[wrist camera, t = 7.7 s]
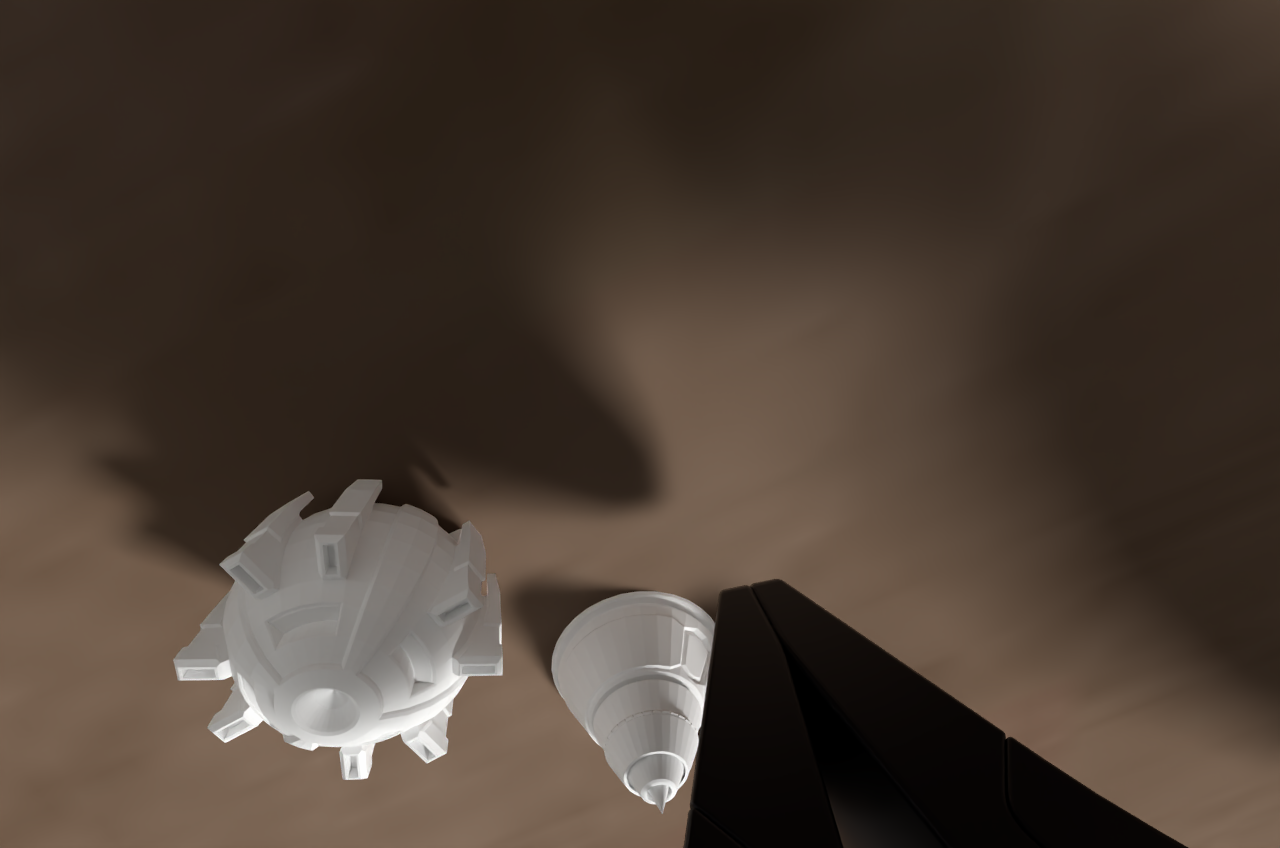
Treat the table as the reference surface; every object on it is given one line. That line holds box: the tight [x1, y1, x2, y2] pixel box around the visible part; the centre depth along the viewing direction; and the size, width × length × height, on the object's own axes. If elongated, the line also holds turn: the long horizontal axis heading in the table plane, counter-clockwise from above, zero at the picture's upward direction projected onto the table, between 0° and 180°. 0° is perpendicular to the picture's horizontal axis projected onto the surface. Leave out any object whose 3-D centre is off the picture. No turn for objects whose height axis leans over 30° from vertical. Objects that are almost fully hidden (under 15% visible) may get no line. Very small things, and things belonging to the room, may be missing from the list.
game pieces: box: [173, 479, 715, 814], centre depth 10 cm, size 12×3×3 cm, turn 57°
